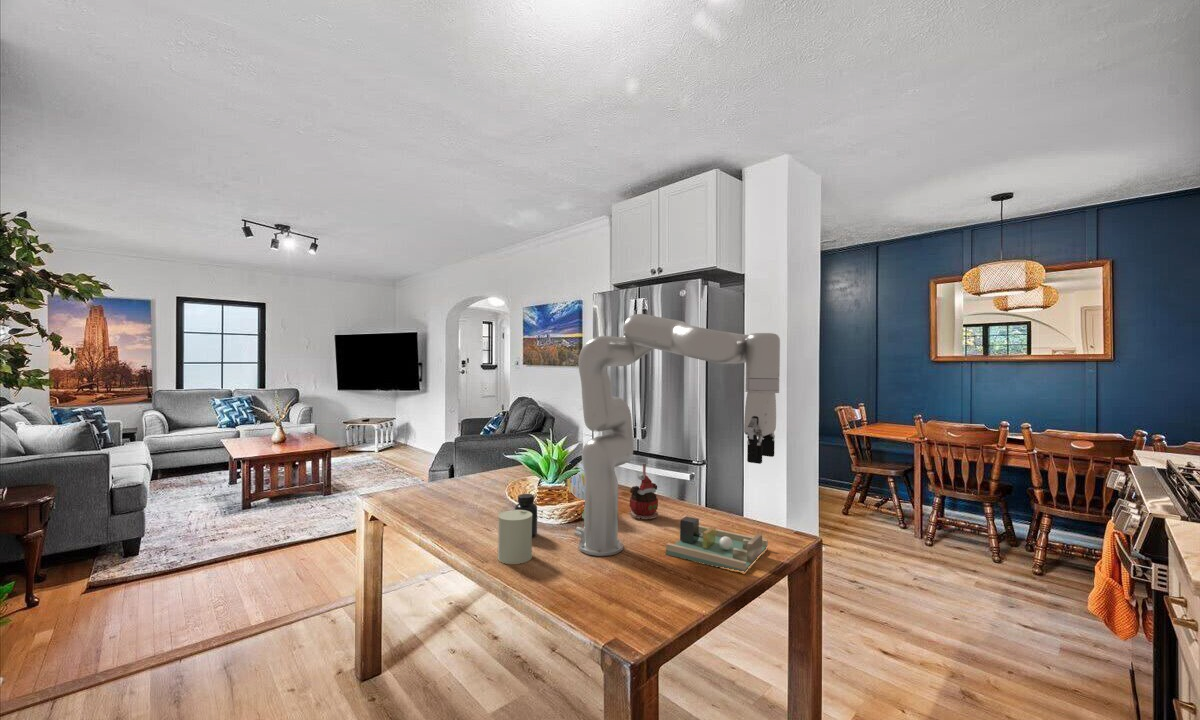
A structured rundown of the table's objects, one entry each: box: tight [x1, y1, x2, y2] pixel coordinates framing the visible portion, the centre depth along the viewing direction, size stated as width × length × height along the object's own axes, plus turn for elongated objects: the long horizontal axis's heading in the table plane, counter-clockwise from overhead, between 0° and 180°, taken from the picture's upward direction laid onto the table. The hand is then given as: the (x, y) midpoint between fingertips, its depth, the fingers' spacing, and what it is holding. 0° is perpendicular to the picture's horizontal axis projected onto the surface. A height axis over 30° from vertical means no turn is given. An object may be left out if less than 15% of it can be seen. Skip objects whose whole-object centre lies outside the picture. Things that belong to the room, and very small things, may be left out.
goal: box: [733, 533, 763, 563], centre depth 135 cm, size 5×9×5 cm, turn 146°
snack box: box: [566, 462, 585, 520], centre depth 175 cm, size 21×6×15 cm, turn 22°
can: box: [497, 509, 533, 565], centre depth 135 cm, size 9×9×12 cm
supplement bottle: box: [514, 493, 538, 539], centre depth 151 cm, size 7×7×12 cm
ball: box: [719, 536, 733, 550], centre depth 139 cm, size 4×4×4 cm
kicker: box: [679, 516, 717, 549], centre depth 144 cm, size 9×6×6 cm
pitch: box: [665, 524, 769, 572], centre depth 140 cm, size 22×20×3 cm
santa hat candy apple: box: [629, 463, 659, 520], centre depth 171 cm, size 11×9×18 cm
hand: (761, 459), depth 117 cm, fingers open, 9 cm apart
